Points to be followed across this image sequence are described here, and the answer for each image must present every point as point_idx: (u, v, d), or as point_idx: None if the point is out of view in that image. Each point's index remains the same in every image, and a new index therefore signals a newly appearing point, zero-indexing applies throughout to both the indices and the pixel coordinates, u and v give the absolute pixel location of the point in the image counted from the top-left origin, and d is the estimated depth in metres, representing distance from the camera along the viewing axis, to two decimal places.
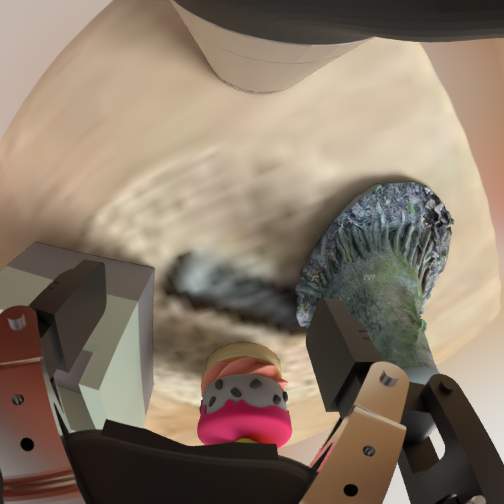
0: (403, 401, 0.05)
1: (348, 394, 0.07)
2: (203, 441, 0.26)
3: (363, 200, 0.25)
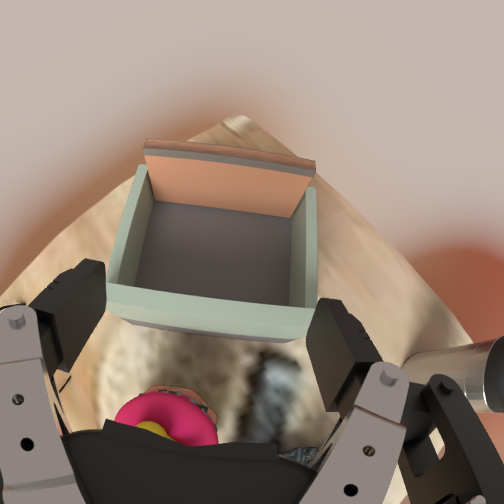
0: (403, 401, 0.05)
1: (348, 394, 0.07)
2: (149, 400, 0.22)
3: None
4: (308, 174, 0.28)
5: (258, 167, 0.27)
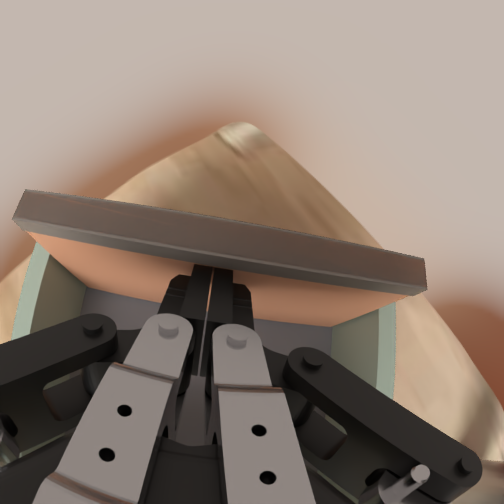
0: (237, 364, 0.06)
1: (208, 356, 0.08)
2: None
3: None
4: (408, 292, 0.11)
5: (297, 276, 0.11)
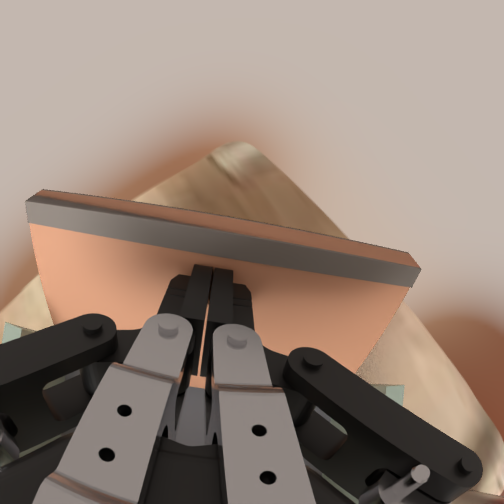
0: (238, 364, 0.06)
1: None
2: None
3: None
4: (405, 279, 0.11)
5: (296, 267, 0.11)
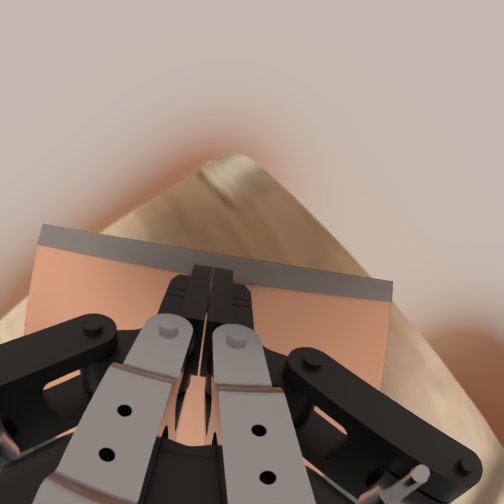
0: (237, 364, 0.06)
1: (208, 356, 0.08)
2: None
3: None
4: (383, 293, 0.13)
5: (282, 288, 0.12)
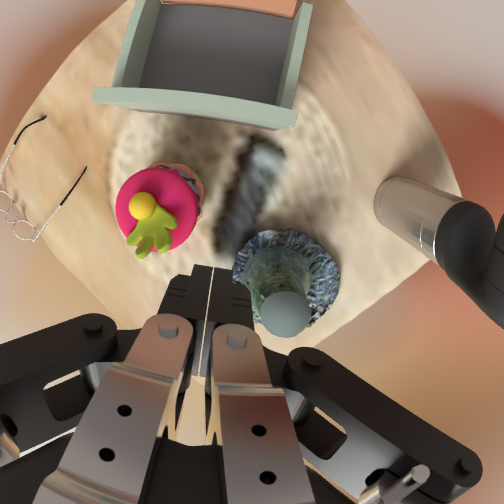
0: (237, 364, 0.06)
1: (208, 356, 0.08)
2: (145, 174, 0.30)
3: (335, 267, 0.46)
4: None
5: None
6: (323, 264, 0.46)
